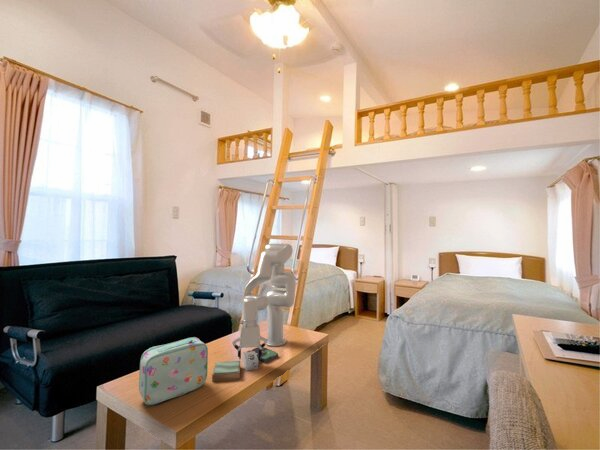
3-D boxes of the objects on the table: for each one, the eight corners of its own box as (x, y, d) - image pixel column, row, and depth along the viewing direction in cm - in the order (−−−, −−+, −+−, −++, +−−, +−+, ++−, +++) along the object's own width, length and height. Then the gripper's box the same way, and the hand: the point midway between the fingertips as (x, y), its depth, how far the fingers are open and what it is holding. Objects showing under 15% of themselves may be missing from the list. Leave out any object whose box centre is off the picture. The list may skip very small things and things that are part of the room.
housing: (243, 362, 148) (243, 350, 148) (254, 360, 150) (254, 349, 150) (246, 372, 138) (246, 359, 138) (258, 370, 140) (258, 357, 140)
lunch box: (201, 376, 133) (201, 330, 134) (211, 385, 126) (211, 336, 126) (137, 400, 115) (137, 346, 115) (144, 411, 107) (144, 354, 108)
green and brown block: (215, 369, 140) (215, 362, 141) (240, 367, 142) (240, 360, 143) (212, 381, 129) (212, 374, 129) (239, 379, 131) (239, 371, 131)
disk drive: (246, 356, 156) (264, 364, 146) (246, 351, 156) (264, 359, 146) (260, 350, 163) (278, 357, 154) (260, 345, 164) (278, 352, 154)
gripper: (232, 326, 139) (231, 361, 139) (267, 324, 142) (267, 359, 142) (233, 321, 147) (232, 355, 146) (266, 320, 150) (266, 353, 149)
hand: (249, 357), depth 144 cm, fingers open, 9 cm apart
